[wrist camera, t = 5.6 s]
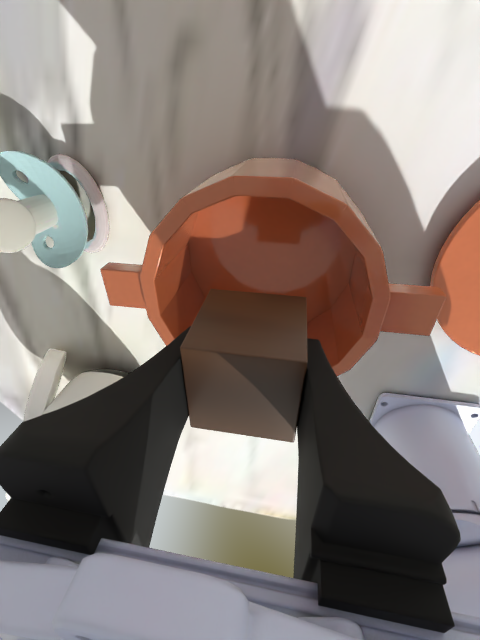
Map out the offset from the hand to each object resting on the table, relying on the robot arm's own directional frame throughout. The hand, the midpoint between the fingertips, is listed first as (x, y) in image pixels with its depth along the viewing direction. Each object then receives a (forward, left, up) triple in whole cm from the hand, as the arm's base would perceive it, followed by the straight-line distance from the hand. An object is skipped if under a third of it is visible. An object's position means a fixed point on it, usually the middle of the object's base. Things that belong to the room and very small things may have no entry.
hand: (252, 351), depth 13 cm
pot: (0, 0, -10) cm, 10 cm away
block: (0, 0, -1) cm, 1 cm away
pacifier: (+3, +14, -10) cm, 18 cm away
